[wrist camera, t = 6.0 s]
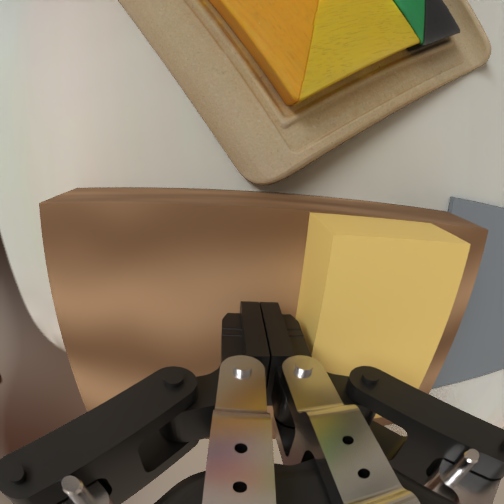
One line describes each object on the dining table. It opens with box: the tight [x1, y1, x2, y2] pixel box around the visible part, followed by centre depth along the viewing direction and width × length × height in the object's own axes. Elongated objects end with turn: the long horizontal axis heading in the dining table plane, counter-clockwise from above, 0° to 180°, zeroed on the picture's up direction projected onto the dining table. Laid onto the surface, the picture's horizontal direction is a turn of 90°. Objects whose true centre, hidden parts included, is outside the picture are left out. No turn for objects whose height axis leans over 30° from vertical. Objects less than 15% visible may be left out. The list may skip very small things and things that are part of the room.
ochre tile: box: [296, 212, 471, 419], centre depth 13 cm, size 9×6×3 cm, turn 176°
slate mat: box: [431, 197, 504, 389], centre depth 20 cm, size 16×16×1 cm
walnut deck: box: [39, 188, 489, 439], centre depth 16 cm, size 14×22×4 cm, turn 86°
